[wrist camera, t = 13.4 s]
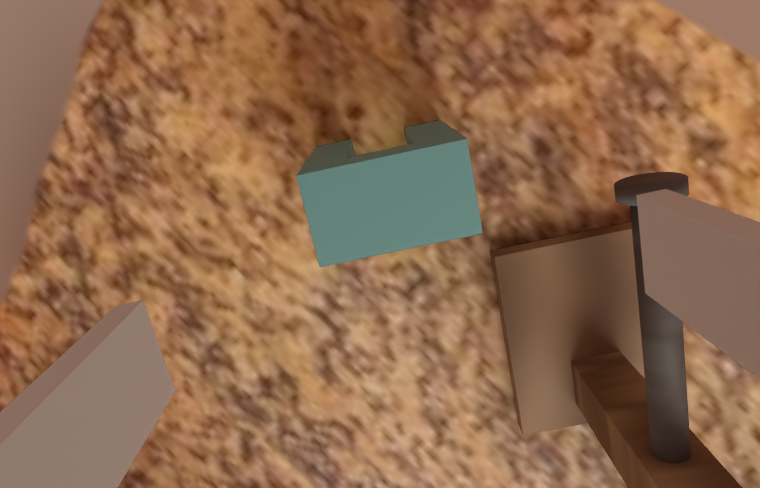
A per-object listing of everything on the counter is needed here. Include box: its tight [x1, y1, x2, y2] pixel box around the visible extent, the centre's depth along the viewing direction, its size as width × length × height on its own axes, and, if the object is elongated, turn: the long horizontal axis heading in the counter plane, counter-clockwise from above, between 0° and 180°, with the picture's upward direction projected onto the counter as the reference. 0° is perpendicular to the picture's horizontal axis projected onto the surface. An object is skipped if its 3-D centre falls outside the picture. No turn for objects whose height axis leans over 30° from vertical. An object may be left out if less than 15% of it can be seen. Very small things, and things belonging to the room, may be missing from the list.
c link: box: [296, 120, 483, 267], centre depth 28 cm, size 7×4×9 cm, turn 102°
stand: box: [490, 172, 742, 488], centre depth 28 cm, size 10×17×14 cm, turn 12°
